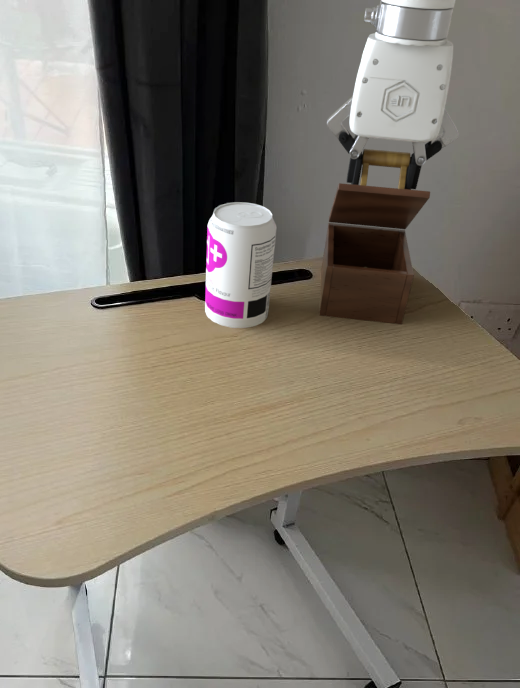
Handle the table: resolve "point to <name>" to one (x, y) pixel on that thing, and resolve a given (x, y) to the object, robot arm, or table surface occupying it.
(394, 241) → the chest
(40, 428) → the table surface
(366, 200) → the lid
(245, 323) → the supplement can
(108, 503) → the table surface
